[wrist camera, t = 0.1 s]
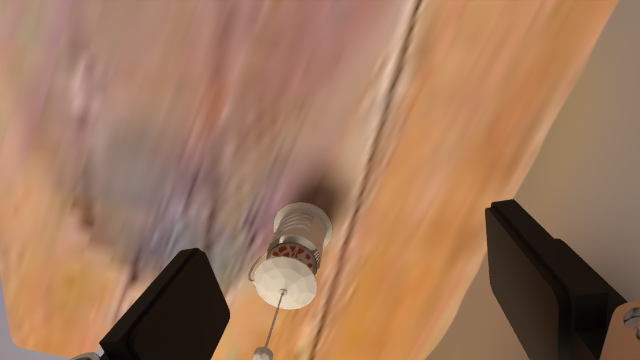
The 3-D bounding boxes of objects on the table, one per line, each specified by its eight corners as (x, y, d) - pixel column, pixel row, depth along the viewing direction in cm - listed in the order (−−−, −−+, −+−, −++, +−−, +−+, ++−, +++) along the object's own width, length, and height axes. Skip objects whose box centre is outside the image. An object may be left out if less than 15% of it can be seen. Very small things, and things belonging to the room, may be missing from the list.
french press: (342, 242, 54) (330, 387, 31) (282, 264, 57) (230, 411, 34) (315, 192, 51) (279, 311, 28) (253, 218, 54) (175, 345, 31)
